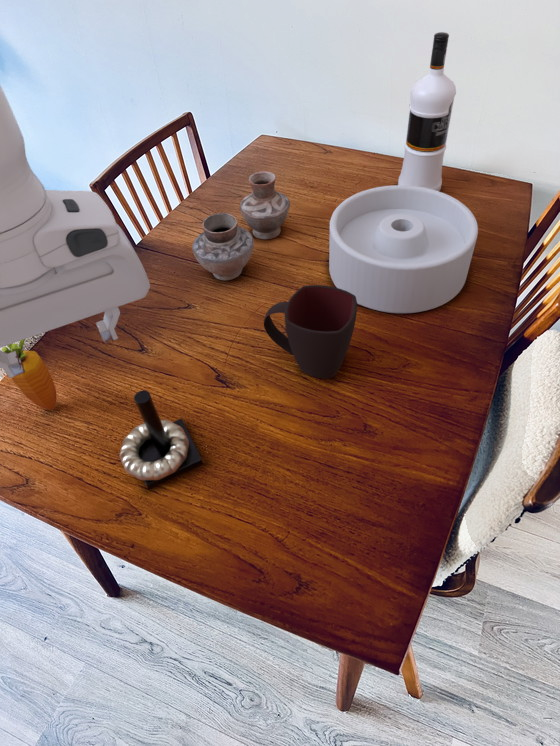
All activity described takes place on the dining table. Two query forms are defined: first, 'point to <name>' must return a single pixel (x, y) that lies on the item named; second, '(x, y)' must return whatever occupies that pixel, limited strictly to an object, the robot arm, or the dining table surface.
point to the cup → (316, 328)
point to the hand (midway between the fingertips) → (64, 354)
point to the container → (401, 247)
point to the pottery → (241, 229)
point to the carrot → (34, 377)
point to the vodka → (429, 122)
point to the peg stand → (161, 439)
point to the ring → (160, 466)
